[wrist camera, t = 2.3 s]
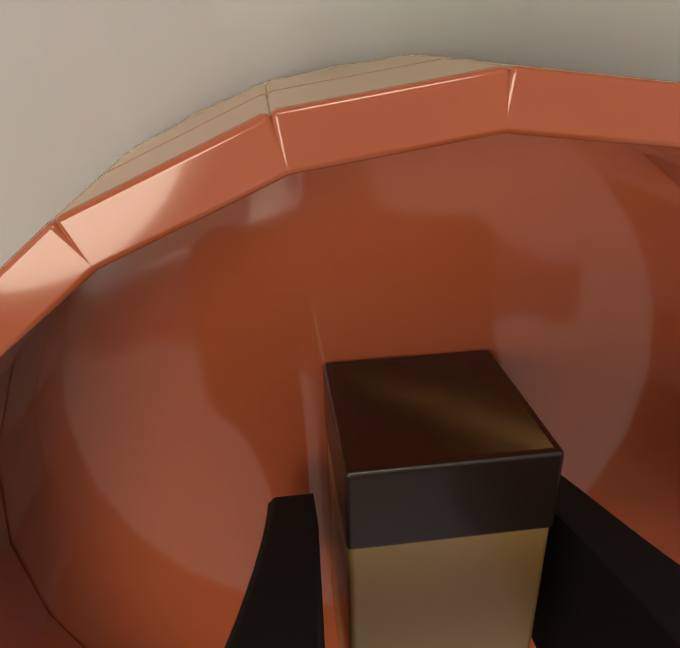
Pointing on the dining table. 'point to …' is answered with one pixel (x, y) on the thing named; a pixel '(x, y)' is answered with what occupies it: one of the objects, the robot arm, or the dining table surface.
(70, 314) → the terracotta bowl
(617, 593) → the robot arm
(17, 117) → the dining table surface
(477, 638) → the tan block dark cap
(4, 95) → the dining table surface
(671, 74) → the dining table surface
